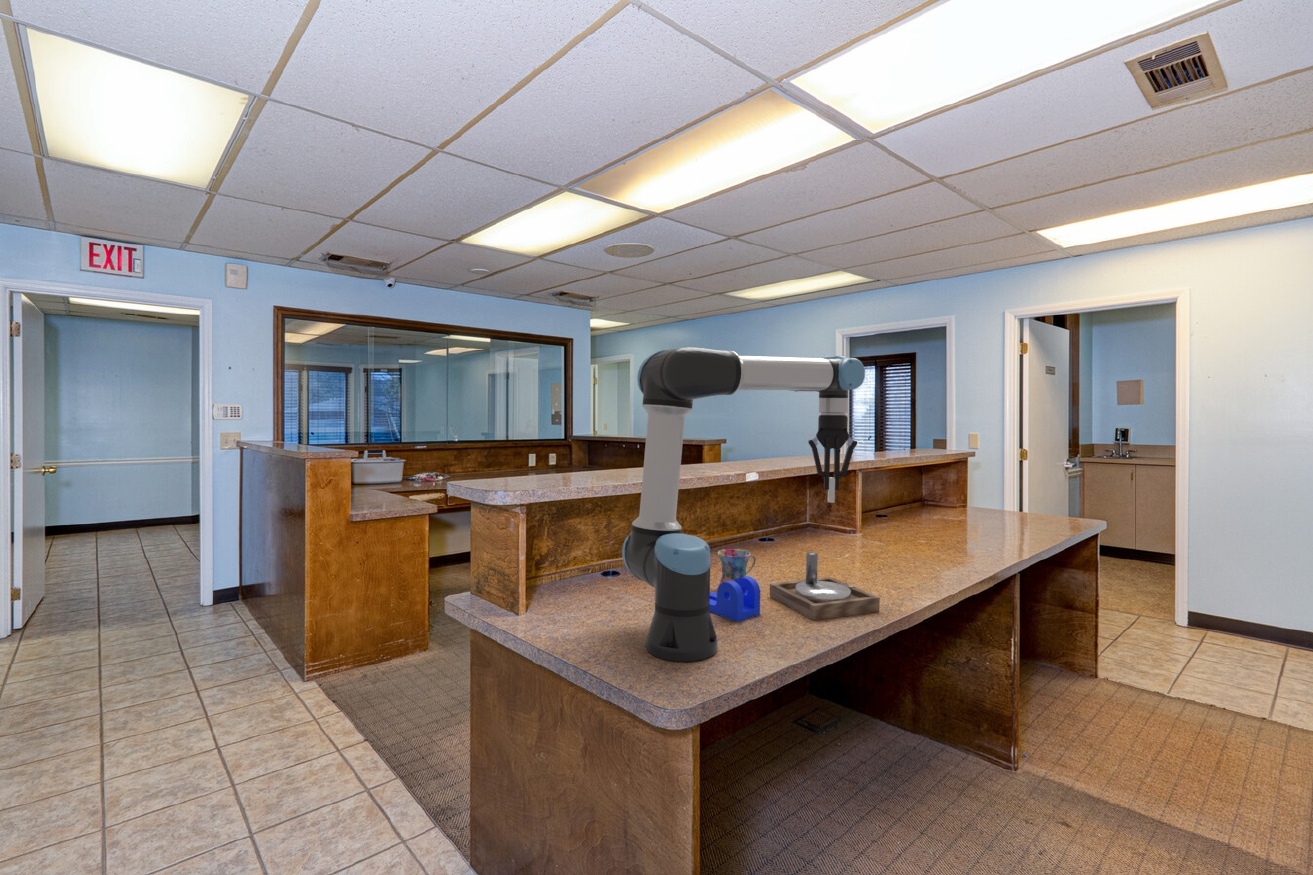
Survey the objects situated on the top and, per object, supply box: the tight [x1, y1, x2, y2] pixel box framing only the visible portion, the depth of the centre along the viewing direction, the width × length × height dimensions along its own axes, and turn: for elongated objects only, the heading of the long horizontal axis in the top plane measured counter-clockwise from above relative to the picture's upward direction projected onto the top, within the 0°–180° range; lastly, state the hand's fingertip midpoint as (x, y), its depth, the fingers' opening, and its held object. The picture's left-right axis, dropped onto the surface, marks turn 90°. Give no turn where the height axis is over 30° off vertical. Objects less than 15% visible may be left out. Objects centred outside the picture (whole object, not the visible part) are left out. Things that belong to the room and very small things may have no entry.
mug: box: [717, 548, 757, 586], centre depth 173 cm, size 12×9×11 cm
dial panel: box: [769, 576, 881, 621], centre depth 160 cm, size 20×20×4 cm
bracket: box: [709, 575, 761, 623], centre depth 156 cm, size 18×8×9 cm, turn 40°
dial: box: [796, 551, 851, 603], centre depth 160 cm, size 14×14×10 cm
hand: (831, 501), depth 164 cm, fingers closed
